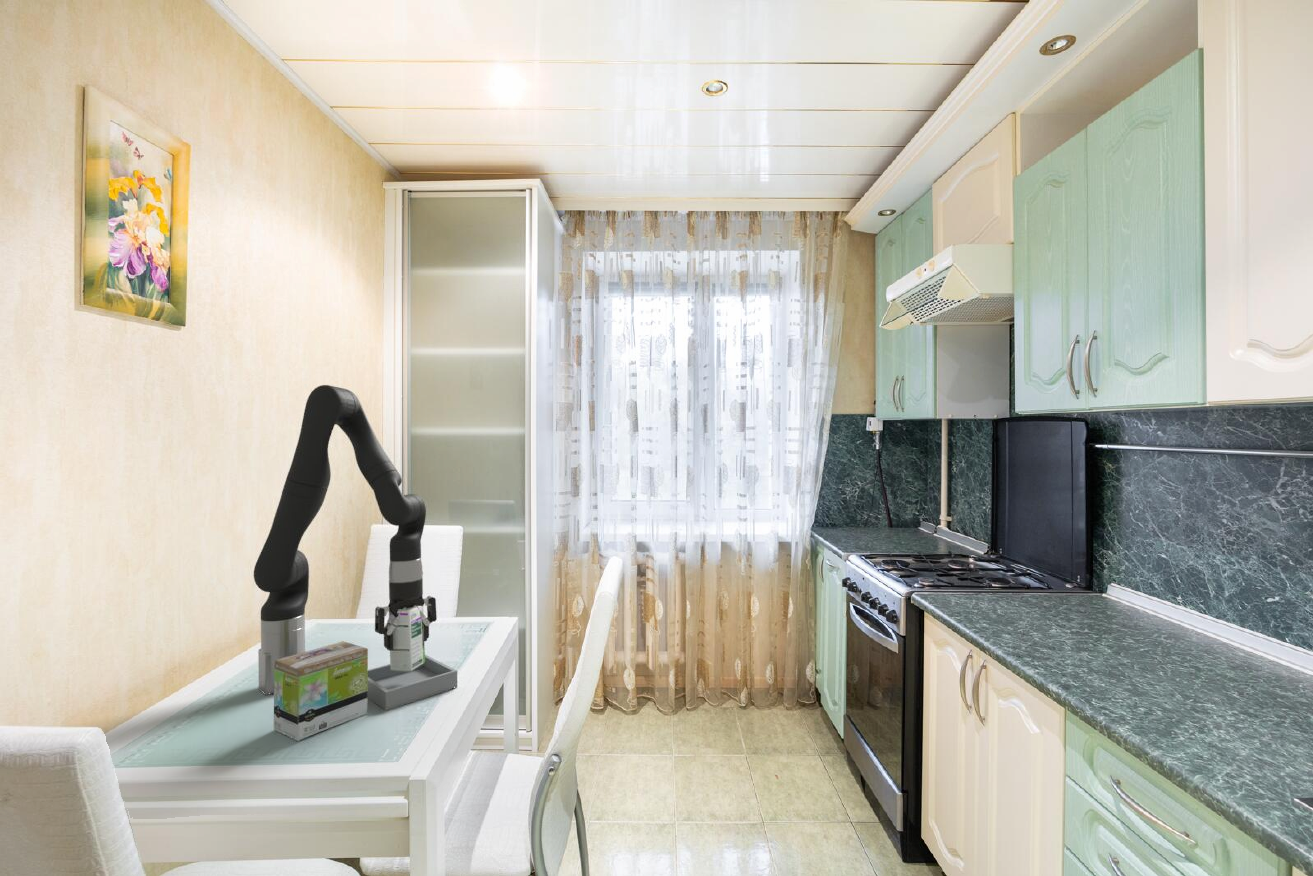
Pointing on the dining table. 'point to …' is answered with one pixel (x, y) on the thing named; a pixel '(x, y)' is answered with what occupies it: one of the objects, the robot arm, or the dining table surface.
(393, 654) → the syrup box
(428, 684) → the tray
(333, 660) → the tea box
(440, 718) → the dining table surface
